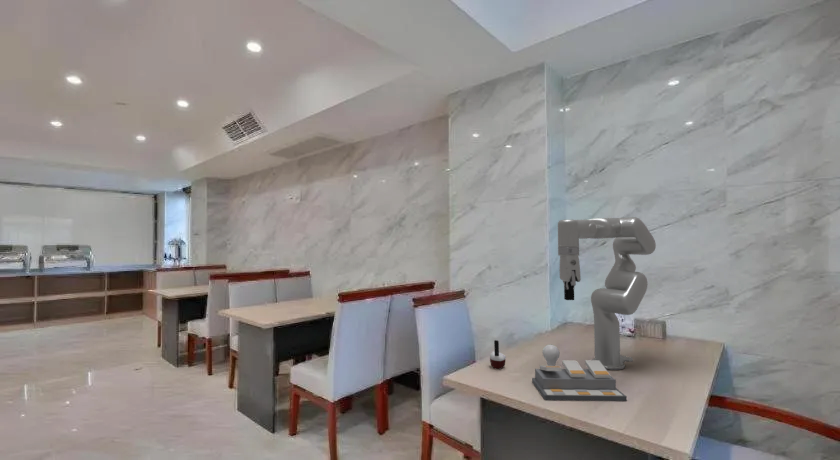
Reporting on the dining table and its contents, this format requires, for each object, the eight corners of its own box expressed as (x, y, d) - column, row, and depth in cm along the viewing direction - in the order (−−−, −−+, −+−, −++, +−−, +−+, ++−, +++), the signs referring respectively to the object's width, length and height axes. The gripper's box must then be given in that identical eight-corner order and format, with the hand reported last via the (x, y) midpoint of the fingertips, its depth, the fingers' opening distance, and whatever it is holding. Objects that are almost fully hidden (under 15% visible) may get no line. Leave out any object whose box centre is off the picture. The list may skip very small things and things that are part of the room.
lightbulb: (559, 371, 151) (559, 343, 151) (560, 376, 145) (559, 347, 145) (543, 369, 153) (542, 341, 153) (542, 374, 147) (542, 346, 147)
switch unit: (604, 382, 138) (604, 368, 139) (626, 401, 122) (626, 385, 123) (532, 382, 139) (531, 368, 140) (544, 400, 123) (544, 384, 124)
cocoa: (495, 364, 161) (495, 335, 162) (509, 366, 157) (508, 337, 158) (484, 369, 154) (484, 338, 155) (499, 372, 150) (498, 340, 151)
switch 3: (598, 363, 137) (599, 359, 137) (609, 378, 129) (610, 374, 128) (584, 363, 138) (584, 359, 137) (594, 378, 129) (595, 374, 128)
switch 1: (553, 369, 138) (553, 365, 138) (561, 371, 129) (561, 366, 130) (539, 369, 138) (539, 364, 138) (546, 370, 129) (546, 366, 130)
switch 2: (576, 363, 138) (576, 360, 137) (585, 377, 129) (586, 373, 129) (562, 363, 138) (562, 359, 138) (570, 377, 129) (571, 373, 129)
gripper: (586, 252, 139) (587, 302, 138) (571, 251, 154) (572, 297, 153) (565, 252, 139) (566, 302, 138) (552, 251, 154) (553, 297, 153)
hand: (569, 299), depth 146 cm, fingers closed
